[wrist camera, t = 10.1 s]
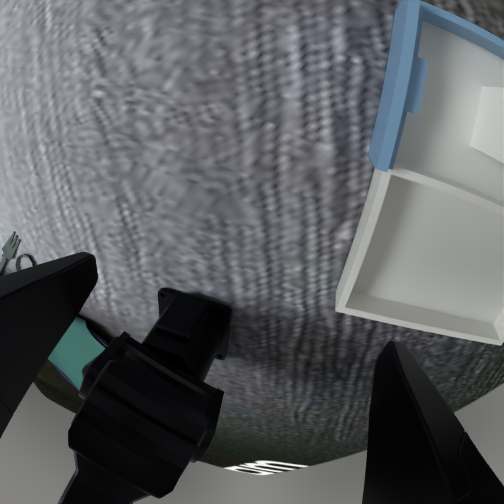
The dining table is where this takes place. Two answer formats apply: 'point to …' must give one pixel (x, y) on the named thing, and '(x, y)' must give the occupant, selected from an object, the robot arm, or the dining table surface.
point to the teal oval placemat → (66, 335)
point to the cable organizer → (432, 187)
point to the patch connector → (490, 123)
